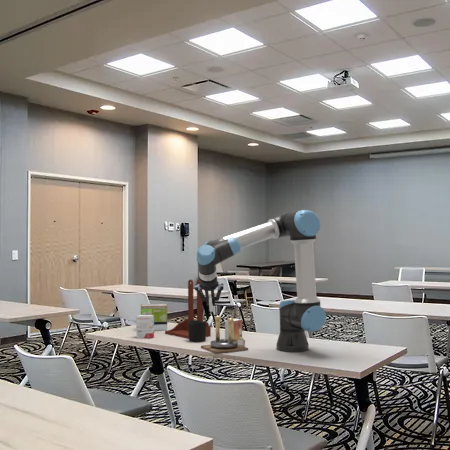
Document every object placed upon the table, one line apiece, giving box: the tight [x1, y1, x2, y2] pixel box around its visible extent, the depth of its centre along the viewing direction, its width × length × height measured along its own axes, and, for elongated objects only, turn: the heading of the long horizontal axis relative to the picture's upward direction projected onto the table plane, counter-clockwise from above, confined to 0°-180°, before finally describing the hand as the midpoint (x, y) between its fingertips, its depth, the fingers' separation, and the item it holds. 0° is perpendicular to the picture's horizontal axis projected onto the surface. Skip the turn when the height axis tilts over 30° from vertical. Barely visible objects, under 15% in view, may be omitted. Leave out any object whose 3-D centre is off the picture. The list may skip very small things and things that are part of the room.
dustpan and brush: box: [164, 279, 212, 340], centre depth 296 cm, size 24×13×30 cm, turn 41°
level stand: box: [200, 336, 249, 355], centre depth 255 cm, size 17×17×6 cm
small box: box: [224, 318, 243, 341], centre depth 278 cm, size 8×6×10 cm
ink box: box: [135, 314, 155, 339], centre depth 289 cm, size 9×5×12 cm, turn 79°
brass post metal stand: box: [210, 315, 238, 348], centre depth 256 cm, size 13×13×14 cm
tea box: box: [140, 303, 168, 332], centre depth 314 cm, size 15×10×15 cm
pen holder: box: [188, 319, 207, 343], centre depth 278 cm, size 9×9×10 cm
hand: (211, 309), depth 246 cm, fingers closed
